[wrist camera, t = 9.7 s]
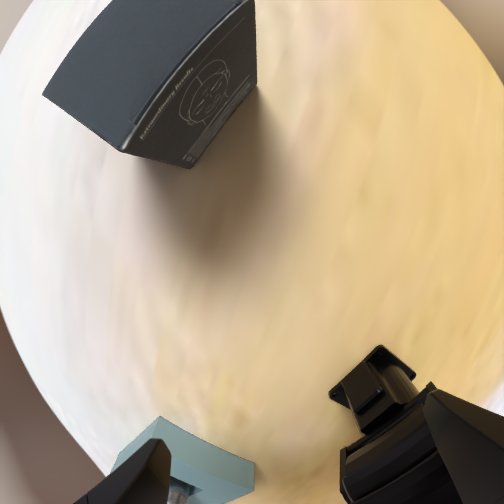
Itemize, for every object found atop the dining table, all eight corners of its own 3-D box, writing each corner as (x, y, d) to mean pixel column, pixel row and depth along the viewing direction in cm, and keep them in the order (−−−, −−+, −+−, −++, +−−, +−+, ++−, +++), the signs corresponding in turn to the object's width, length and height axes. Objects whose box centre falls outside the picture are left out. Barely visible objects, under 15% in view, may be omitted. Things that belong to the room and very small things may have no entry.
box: (196, 49, 16) (154, -42, 6) (259, 84, 17) (262, -9, 7) (131, 132, 18) (35, 95, 7) (190, 172, 18) (119, 155, 8)
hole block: (254, 463, 25) (254, 490, 21) (198, 492, 27) (194, 514, 23) (159, 416, 23) (148, 444, 19) (119, 453, 25) (109, 474, 21)
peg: (199, 463, 25) (186, 532, 15) (186, 470, 25) (172, 534, 15) (176, 452, 24) (158, 522, 15) (165, 460, 25) (146, 525, 15)
